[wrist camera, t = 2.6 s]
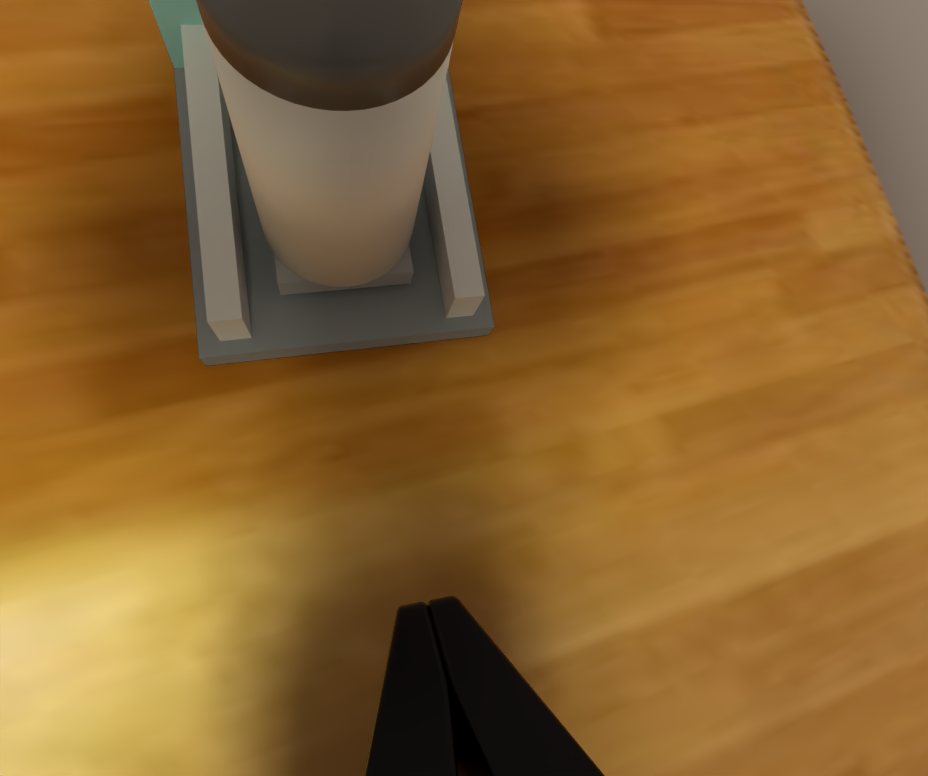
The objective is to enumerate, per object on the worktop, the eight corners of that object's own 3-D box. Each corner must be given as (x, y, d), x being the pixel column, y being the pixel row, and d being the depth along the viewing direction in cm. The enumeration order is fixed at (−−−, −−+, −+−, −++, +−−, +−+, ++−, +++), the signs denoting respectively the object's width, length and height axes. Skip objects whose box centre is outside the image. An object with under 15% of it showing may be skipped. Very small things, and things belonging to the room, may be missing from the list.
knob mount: (488, 334, 24) (533, 272, 18) (205, 365, 21) (153, 306, 16) (434, 27, 26) (458, -116, 20) (176, 28, 24) (121, -130, 18)
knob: (420, 290, 22) (491, 55, 11) (272, 304, 21) (189, 60, 10) (400, 161, 23) (447, -173, 12) (257, 168, 22) (166, -190, 11)
